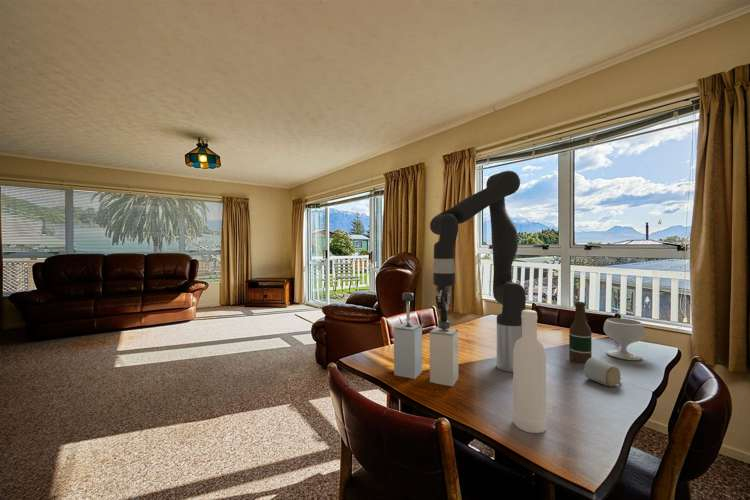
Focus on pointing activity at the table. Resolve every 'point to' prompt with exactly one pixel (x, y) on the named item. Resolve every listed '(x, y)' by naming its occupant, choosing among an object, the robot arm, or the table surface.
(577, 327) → the beer bottle
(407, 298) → the grey plunger
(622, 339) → the chalice
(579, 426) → the table surface
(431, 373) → the block
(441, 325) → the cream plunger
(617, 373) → the cream cylinder
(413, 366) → the block
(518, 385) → the bottle
